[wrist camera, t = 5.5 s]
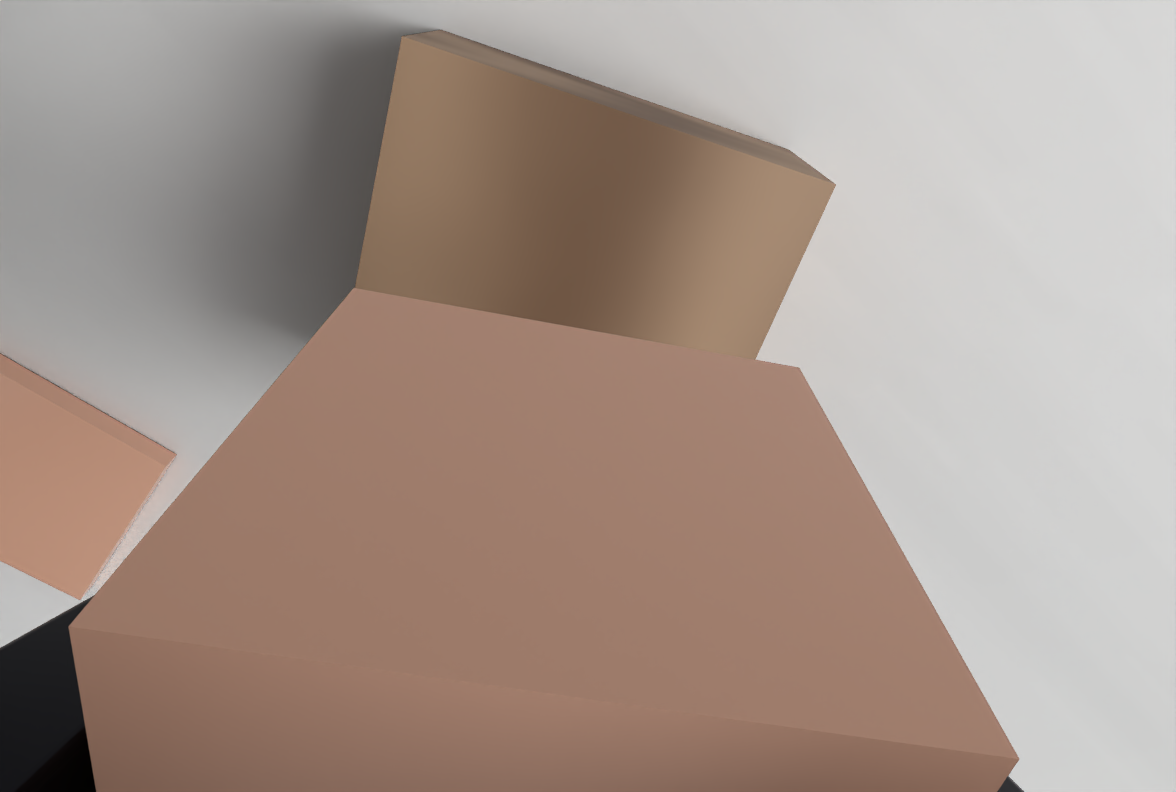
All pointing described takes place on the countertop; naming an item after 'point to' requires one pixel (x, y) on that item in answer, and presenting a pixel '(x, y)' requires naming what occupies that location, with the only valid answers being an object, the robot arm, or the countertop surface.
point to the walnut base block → (580, 204)
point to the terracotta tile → (67, 481)
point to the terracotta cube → (525, 584)
